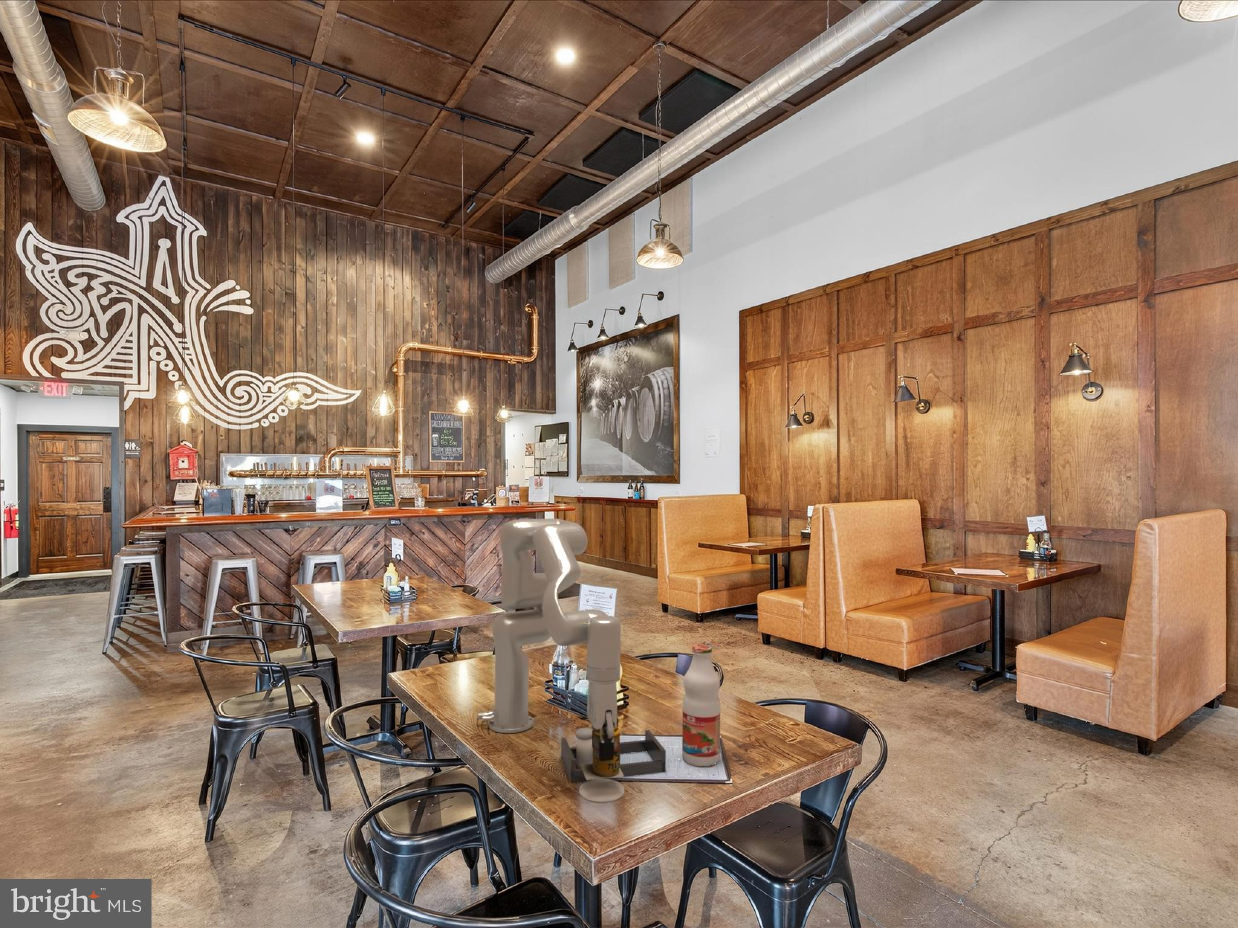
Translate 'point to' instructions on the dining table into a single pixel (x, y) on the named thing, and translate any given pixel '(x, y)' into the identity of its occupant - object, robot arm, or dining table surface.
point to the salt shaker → (584, 747)
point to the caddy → (627, 769)
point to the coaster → (601, 790)
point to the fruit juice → (701, 710)
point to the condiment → (604, 767)
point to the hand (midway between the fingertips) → (602, 752)
